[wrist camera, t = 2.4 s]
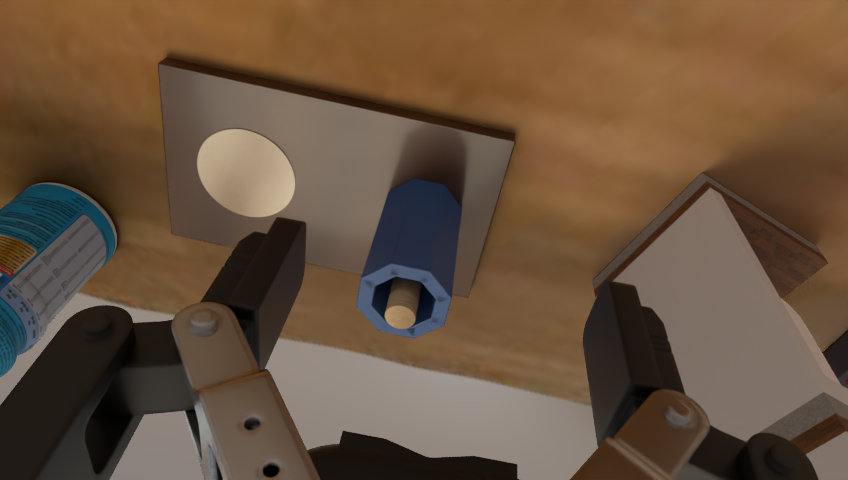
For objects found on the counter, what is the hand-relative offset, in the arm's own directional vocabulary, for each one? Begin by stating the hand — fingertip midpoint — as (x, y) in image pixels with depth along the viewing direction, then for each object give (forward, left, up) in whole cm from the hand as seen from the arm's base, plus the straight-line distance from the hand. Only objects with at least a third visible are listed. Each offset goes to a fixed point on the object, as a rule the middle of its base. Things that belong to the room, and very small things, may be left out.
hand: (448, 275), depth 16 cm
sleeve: (-1, -14, -24) cm, 28 cm away
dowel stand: (-8, -14, -25) cm, 30 cm away
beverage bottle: (-29, -23, -25) cm, 45 cm away
